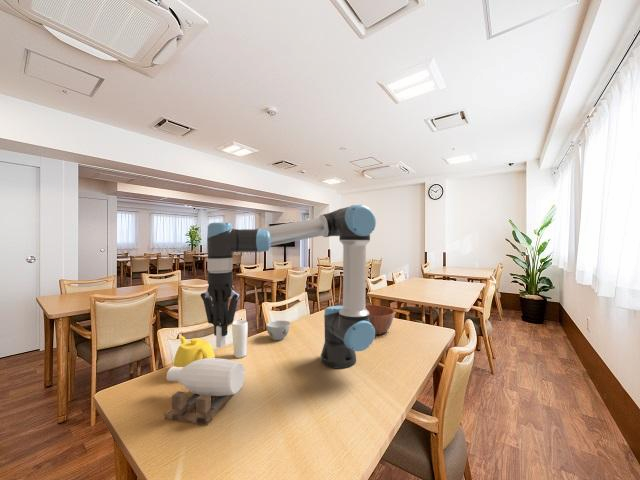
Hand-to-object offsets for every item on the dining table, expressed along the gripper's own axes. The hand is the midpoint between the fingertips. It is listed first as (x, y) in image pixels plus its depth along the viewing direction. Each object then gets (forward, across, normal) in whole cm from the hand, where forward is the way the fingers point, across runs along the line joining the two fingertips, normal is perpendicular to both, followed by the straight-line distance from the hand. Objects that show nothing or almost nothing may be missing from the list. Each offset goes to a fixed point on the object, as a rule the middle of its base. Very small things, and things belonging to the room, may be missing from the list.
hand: (220, 345), depth 86 cm
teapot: (+19, +24, -18) cm, 36 cm away
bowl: (+19, -45, -80) cm, 94 cm away
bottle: (+10, -5, -1) cm, 12 cm away
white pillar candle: (+19, +12, -34) cm, 41 cm away
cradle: (+19, +5, 0) cm, 19 cm away
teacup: (+19, +4, -58) cm, 61 cm away
